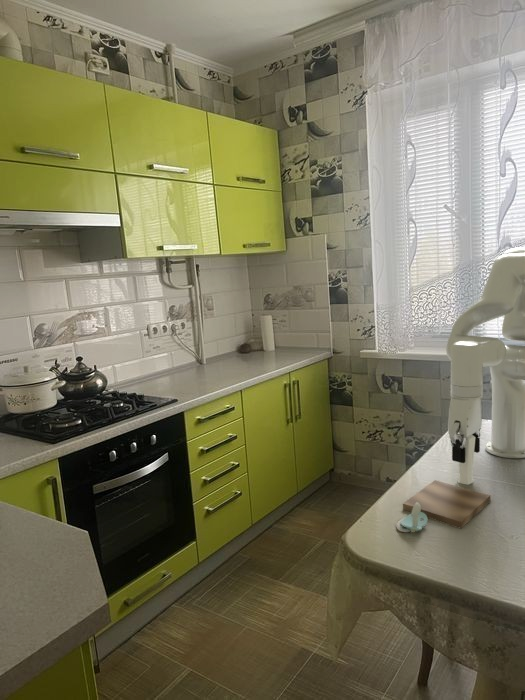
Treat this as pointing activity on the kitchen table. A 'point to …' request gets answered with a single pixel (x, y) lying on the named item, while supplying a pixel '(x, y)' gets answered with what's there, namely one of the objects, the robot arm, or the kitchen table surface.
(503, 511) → the kitchen table surface
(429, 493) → the walnut board
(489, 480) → the kitchen table surface
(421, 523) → the pacifier
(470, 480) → the white tall faceted piece
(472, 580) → the kitchen table surface
